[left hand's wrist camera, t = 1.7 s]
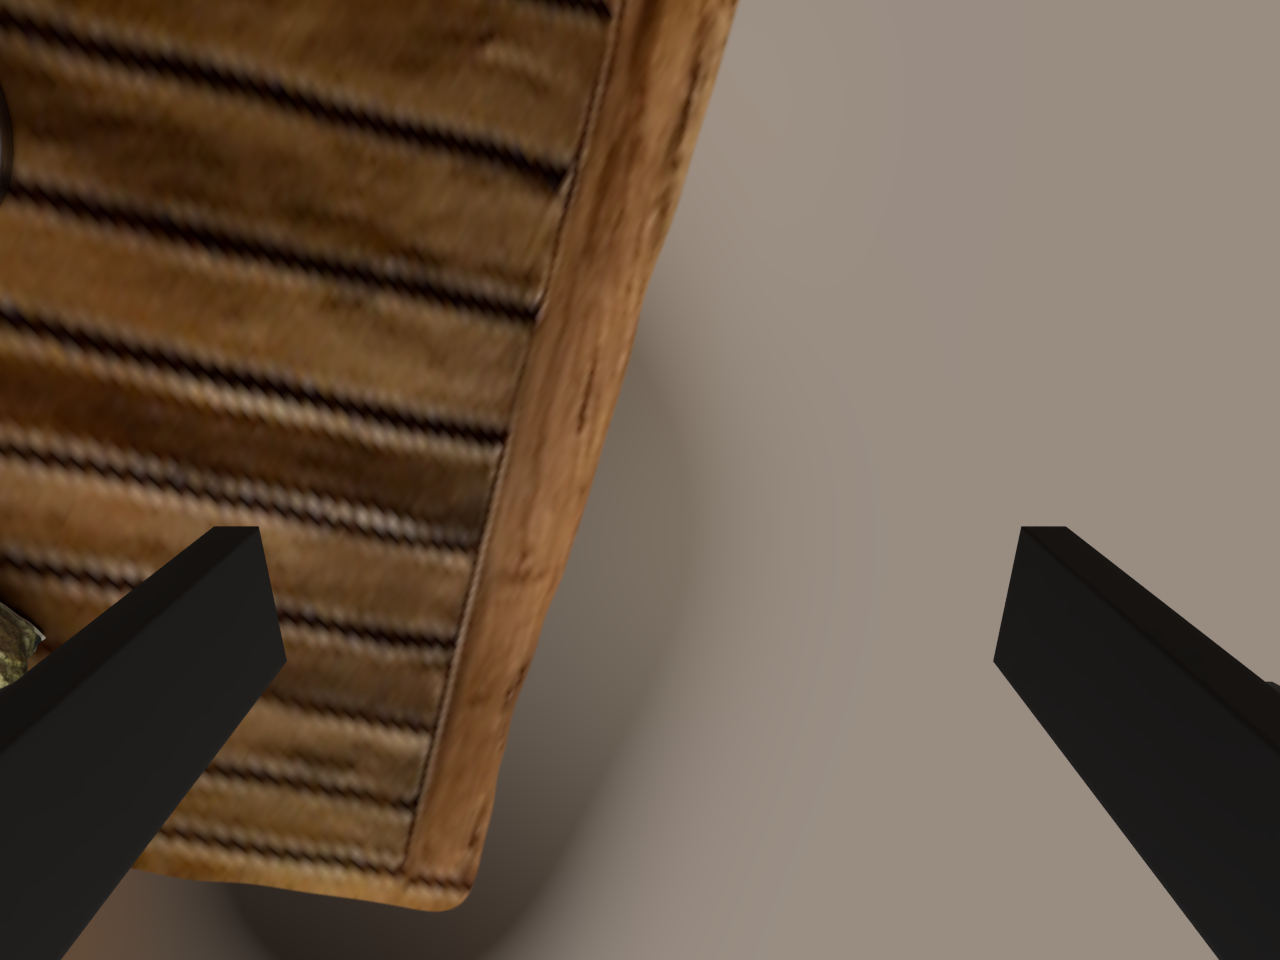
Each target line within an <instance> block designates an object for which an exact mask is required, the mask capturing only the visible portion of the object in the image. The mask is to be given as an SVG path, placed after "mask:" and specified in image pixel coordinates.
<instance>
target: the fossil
mask: <svg viewBox="0 0 1280 960" xmlns="http://www.w3.org/2000/svg"><path fill="white" fill-rule="evenodd" d="M45 638H46V637H45V636H44V635H43V634H42V633H41V632H40V631H39V630H38V629H37V628H36V627H34V626H33V625H32V624H31V623H30V622H29V621H27V620H26V619H24V618H22V617H20V616H19V615H17V614H16V613H15V612H14V611H12V610H11V609H10V608H8V607H7V606H5V605H4V604H2V603H1V602H0V689H1V688H3V687H5V686H7V685H9V684H13V683H14V682H15V681H16V680H18V679H19V678H20V677H22V676H23V675H24V674H25V673H27V659H28V658H29V657H30V656H31V655H33V653H34V651H35V650H36V648H37V645H38V644H39V643H40V642H41V641H43V640H44V639H45Z"/></svg>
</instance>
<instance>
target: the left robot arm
mask: <svg viewBox="0 0 1280 960" xmlns="http://www.w3.org/2000/svg"><path fill="white" fill-rule="evenodd" d="M12 164H13V136H12V129H11V122H10V118H9V113H8V109H7V105H6V102H5V99H4V96H3V93H2V90H1V88H0V204H1V202H2V200H3V198H4V195H5V193H6V190H7V188H8V184H9V181H10V177H11V171H12ZM993 661H994V663H995V664H996V666H997V667H998V668H999V670H1000V671H1001V672H1002V674H1003V675H1004V676H1005V677H1006V679H1007V680H1008V681H1009V683H1010V684H1011V685H1012V687H1013V688H1014V689H1015V691H1016V692H1017V693H1018V695H1019V696H1020V697H1021V699H1022V700H1023V701H1024V703H1025V704H1026V705H1027V706H1028V708H1029V709H1030V710H1031V712H1032V713H1033V714H1034V716H1035V717H1036V718H1037V720H1038V721H1039V722H1040V724H1041V725H1042V726H1043V728H1044V729H1045V730H1046V732H1047V733H1048V734H1049V736H1050V737H1051V738H1052V740H1053V741H1054V742H1055V744H1056V745H1057V746H1058V748H1059V749H1060V750H1061V751H1062V753H1063V754H1064V755H1065V757H1066V758H1067V759H1068V761H1069V762H1070V763H1071V765H1072V766H1073V767H1074V769H1075V770H1076V771H1077V773H1078V774H1079V775H1080V777H1081V778H1082V779H1083V780H1084V782H1085V783H1086V785H1087V786H1088V787H1089V788H1090V790H1091V791H1092V792H1093V794H1094V795H1095V796H1096V798H1097V799H1098V800H1099V802H1100V803H1101V804H1102V806H1103V807H1104V808H1105V810H1106V811H1107V812H1108V814H1109V815H1110V816H1111V818H1112V819H1113V820H1114V822H1115V823H1116V824H1117V825H1118V827H1119V828H1120V829H1121V831H1122V832H1123V833H1124V835H1125V836H1126V837H1127V839H1128V840H1129V841H1130V843H1131V844H1132V845H1133V847H1134V848H1135V849H1136V851H1137V852H1138V853H1139V855H1140V856H1141V857H1142V858H1143V860H1144V861H1145V862H1146V864H1147V865H1148V866H1149V868H1150V869H1151V870H1152V872H1153V873H1154V874H1155V876H1156V877H1157V878H1158V880H1159V881H1160V882H1161V884H1162V885H1163V886H1164V888H1165V889H1166V890H1167V892H1168V893H1169V894H1170V895H1171V897H1172V898H1173V899H1174V901H1175V902H1176V903H1177V905H1178V906H1179V907H1180V909H1181V910H1182V911H1183V913H1184V914H1185V915H1186V917H1187V918H1188V919H1189V921H1190V922H1191V923H1192V924H1193V926H1194V927H1195V929H1196V930H1197V931H1198V932H1199V934H1200V935H1201V936H1202V938H1203V939H1204V940H1205V942H1206V943H1207V944H1208V946H1209V947H1210V948H1211V950H1212V951H1213V952H1214V954H1215V955H1216V956H1217V958H1218V959H1219V960H1280V686H1279V685H1277V684H1275V683H1273V682H1265V681H1263V680H1262V679H1261V678H1260V677H1258V676H1257V675H1256V674H1255V673H1253V672H1252V671H1251V670H1249V669H1248V668H1247V667H1245V666H1244V665H1243V664H1242V663H1240V662H1239V661H1238V660H1237V659H1235V658H1234V657H1233V656H1231V655H1230V654H1229V653H1227V652H1226V651H1225V650H1224V649H1222V648H1221V647H1220V646H1219V645H1217V644H1216V643H1215V642H1213V641H1212V640H1211V639H1210V638H1208V637H1207V636H1206V635H1204V634H1203V633H1202V632H1201V631H1199V630H1198V629H1197V628H1195V627H1194V626H1193V625H1192V624H1190V623H1189V622H1188V621H1187V620H1185V619H1184V618H1183V617H1181V616H1180V615H1179V614H1178V613H1176V612H1175V611H1174V610H1172V609H1171V608H1170V607H1168V606H1167V605H1166V604H1165V603H1163V602H1162V601H1161V600H1160V599H1158V598H1157V597H1156V596H1154V595H1153V594H1152V593H1151V592H1149V591H1148V590H1147V589H1145V588H1144V587H1143V586H1142V585H1140V584H1139V583H1138V582H1136V581H1135V580H1134V579H1133V578H1131V577H1130V576H1129V575H1127V574H1126V573H1125V572H1124V571H1122V570H1121V569H1120V568H1119V567H1117V566H1116V565H1115V564H1113V563H1112V562H1111V561H1110V560H1108V559H1107V558H1106V557H1104V556H1103V555H1102V554H1101V553H1099V552H1098V551H1097V550H1095V549H1094V548H1093V547H1092V546H1090V545H1089V544H1088V543H1086V542H1085V541H1084V540H1083V539H1081V538H1080V537H1079V536H1077V535H1076V534H1075V533H1074V532H1072V531H1071V530H1070V529H1068V528H1067V527H1065V526H1061V527H1060V526H1053V527H1052V526H1051V527H1049V526H1031V527H1030V526H1022V527H1021V531H1020V535H1019V540H1018V545H1017V550H1016V555H1015V559H1014V564H1013V569H1012V574H1011V579H1010V583H1009V588H1008V593H1007V598H1006V602H1005V607H1004V612H1003V617H1002V622H1001V626H1000V631H999V636H998V641H997V646H996V650H995V655H994V660H993ZM286 662H287V660H286V655H285V650H284V646H283V641H282V636H281V631H280V626H279V622H278V617H277V612H276V607H275V602H274V598H273V593H272V588H271V583H270V579H269V574H268V569H267V564H266V559H265V555H264V550H263V545H262V540H261V535H260V531H259V526H214V527H213V528H212V529H210V530H209V531H208V532H206V533H205V534H204V535H203V536H201V537H200V538H199V539H197V540H196V541H195V542H194V543H192V544H191V545H190V546H188V547H187V548H186V549H185V550H183V551H182V552H181V553H179V554H178V555H177V556H176V557H174V558H173V559H172V560H170V561H169V562H168V563H167V564H165V565H164V566H163V567H161V568H160V569H159V570H158V571H156V572H155V573H154V574H153V575H151V576H150V577H149V578H147V579H146V580H145V581H144V582H142V583H141V584H140V585H138V586H137V587H136V588H135V589H133V590H132V591H131V592H129V593H128V594H127V595H126V596H124V597H123V598H122V599H120V600H119V601H118V602H117V603H115V604H114V605H113V606H111V607H110V608H109V609H108V610H106V611H105V612H104V613H102V614H101V615H100V616H99V617H97V618H96V619H95V620H93V621H92V622H91V623H90V624H88V625H87V626H86V627H84V628H83V629H82V630H81V631H79V632H78V633H77V634H76V635H74V636H73V637H72V638H70V639H69V640H68V641H67V642H65V643H64V644H63V645H61V646H60V647H59V648H58V649H56V650H55V651H54V652H52V653H51V654H50V655H49V656H47V657H46V658H45V659H43V660H42V661H41V662H40V663H38V664H37V665H36V666H34V667H33V668H32V669H31V670H29V671H28V672H27V673H25V674H24V675H23V676H22V677H20V678H19V679H18V680H16V681H15V682H14V683H13V684H9V685H7V686H5V687H3V688H1V689H0V960H61V959H62V958H63V956H64V955H65V954H66V952H67V951H68V950H69V948H70V947H71V946H72V944H73V943H74V942H75V940H76V939H77V938H78V936H79V935H80V934H81V932H82V931H83V930H84V929H85V927H86V926H87V925H88V923H89V922H90V921H91V919H92V918H93V917H94V915H95V914H96V913H97V911H98V910H99V909H100V907H101V906H102V905H103V903H104V902H105V901H106V899H107V898H108V897H109V895H110V894H111V893H112V891H113V890H114V889H115V888H116V886H117V885H118V884H119V882H120V881H121V880H122V878H123V877H124V876H125V874H126V873H127V872H128V870H129V869H130V868H131V866H132V865H133V864H134V862H135V861H136V860H137V859H138V857H139V856H140V855H141V853H142V852H143V851H144V849H145V848H146V847H147V845H148V844H149V843H150V841H151V840H152V839H153V837H154V836H155V835H156V833H157V832H158V831H159V829H160V828H161V827H162V825H163V824H164V823H165V822H166V820H167V819H168V818H169V816H170V815H171V814H172V812H173V811H174V810H175V808H176V807H177V806H178V804H179V803H180V802H181V800H182V799H183V798H184V796H185V795H186V794H187V792H188V791H189V790H190V788H191V787H192V786H193V785H194V783H195V782H196V781H197V779H198V778H199V777H200V775H201V774H202V773H203V771H204V770H205V769H206V767H207V766H208V765H209V763H210V762H211V761H212V759H213V758H214V757H215V755H216V754H217V753H218V751H219V750H220V749H221V748H222V746H223V745H224V744H225V742H226V741H227V740H228V738H229V737H230V736H231V734H232V733H233V732H234V730H235V729H236V728H237V726H238V725H239V724H240V722H241V721H242V720H243V718H244V717H245V716H246V714H247V713H248V712H249V711H250V709H251V708H252V707H253V705H254V704H255V703H256V701H257V700H258V699H259V697H260V696H261V695H262V693H263V692H264V691H265V689H266V688H267V687H268V685H269V684H270V683H271V681H272V680H273V679H274V678H275V676H276V675H277V674H278V672H279V671H280V670H281V668H282V667H283V666H284V664H285V663H286Z"/></svg>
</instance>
